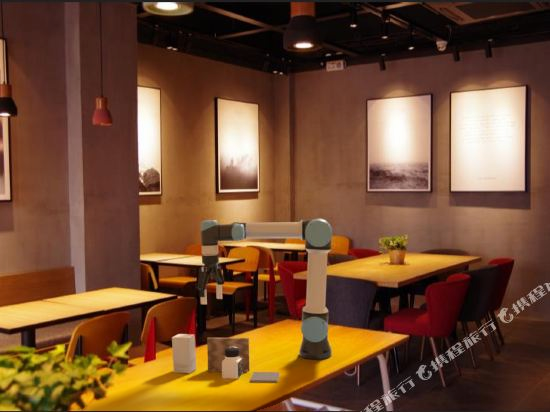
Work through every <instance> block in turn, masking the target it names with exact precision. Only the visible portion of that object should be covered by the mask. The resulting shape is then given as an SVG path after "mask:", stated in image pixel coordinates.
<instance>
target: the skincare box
mask: <svg viewBox="0 0 550 412" xmlns="http://www.w3.org/2000/svg"><path fill="white" fill-rule="evenodd" d="M195 337H196V336H195V334H191V333H190V334H189V333H188V334H187V333H178V334H176V335H174V336H172V337H171V343H172V347H171V348H172V361H173V362H172V365H173V366H172V367H173V373H176V374H177V373H179V374H180V373H181V374H191V373H193V372H195V371H196V370H197V358H196V357H197V356H196V352H197V351H196V338H195Z"/></svg>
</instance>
